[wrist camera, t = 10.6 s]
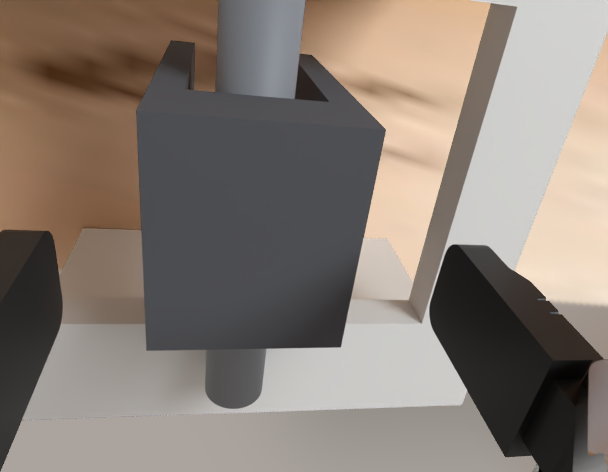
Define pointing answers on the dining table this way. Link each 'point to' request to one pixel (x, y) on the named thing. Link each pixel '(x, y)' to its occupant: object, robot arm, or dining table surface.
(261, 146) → the gray u-channel post
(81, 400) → the white channel bracket
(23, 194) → the dining table surface
